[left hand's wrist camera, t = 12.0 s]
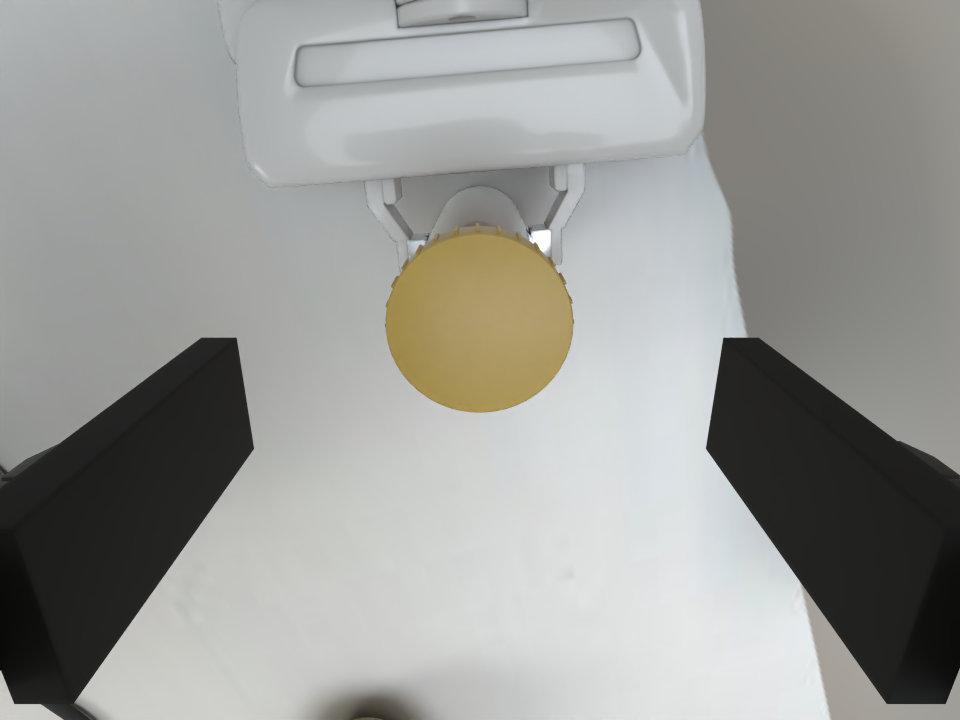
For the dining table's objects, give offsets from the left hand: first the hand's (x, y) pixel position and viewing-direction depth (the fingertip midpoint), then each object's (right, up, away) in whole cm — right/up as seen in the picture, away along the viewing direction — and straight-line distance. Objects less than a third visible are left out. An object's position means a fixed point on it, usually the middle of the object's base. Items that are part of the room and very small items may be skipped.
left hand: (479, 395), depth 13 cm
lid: (0, +2, +5) cm, 5 cm away
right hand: (0, +5, +16) cm, 17 cm away
